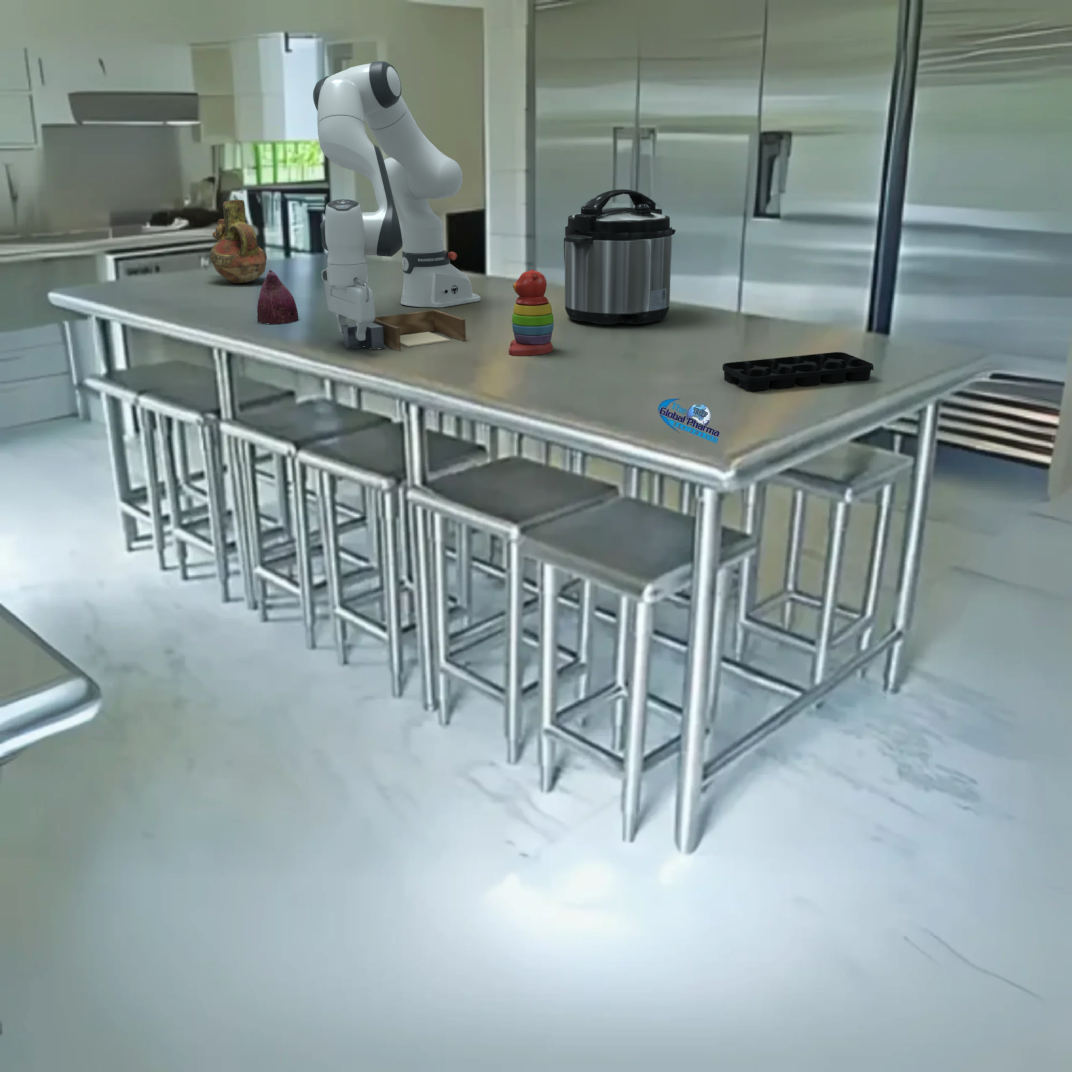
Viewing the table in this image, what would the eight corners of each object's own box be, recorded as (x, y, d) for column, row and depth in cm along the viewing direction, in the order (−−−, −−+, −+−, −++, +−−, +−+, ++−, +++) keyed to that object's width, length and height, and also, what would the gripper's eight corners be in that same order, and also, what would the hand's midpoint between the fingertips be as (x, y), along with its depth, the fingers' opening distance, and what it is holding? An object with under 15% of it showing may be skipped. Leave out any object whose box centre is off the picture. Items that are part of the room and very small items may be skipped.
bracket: (371, 343, 252) (370, 321, 250) (384, 348, 246) (382, 326, 245) (344, 346, 249) (342, 325, 247) (356, 352, 243) (354, 330, 241)
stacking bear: (510, 345, 248) (508, 267, 241) (554, 345, 248) (553, 266, 241) (507, 356, 238) (506, 274, 231) (553, 355, 238) (553, 274, 231)
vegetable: (289, 337, 275) (284, 282, 266) (251, 330, 276) (245, 276, 267) (305, 319, 283) (301, 265, 274) (268, 313, 285) (263, 259, 275)
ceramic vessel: (244, 274, 352) (235, 194, 342) (285, 283, 334) (277, 199, 325) (195, 280, 341) (185, 198, 332) (235, 290, 324) (225, 203, 314)
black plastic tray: (882, 380, 216) (884, 362, 215) (770, 402, 202) (771, 382, 200) (819, 363, 230) (821, 346, 229) (710, 382, 216) (711, 364, 214)
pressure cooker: (657, 305, 292) (661, 183, 280) (688, 326, 266) (694, 192, 254) (549, 310, 288) (548, 186, 276) (570, 331, 262) (570, 195, 250)
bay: (436, 329, 265) (435, 309, 263) (466, 340, 253) (465, 319, 251) (369, 338, 256) (368, 317, 254) (396, 350, 244) (395, 328, 243)
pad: (428, 333, 261) (428, 331, 261) (449, 341, 253) (449, 339, 253) (387, 338, 256) (387, 337, 256) (407, 347, 247) (407, 345, 247)
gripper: (380, 280, 235) (384, 342, 241) (343, 269, 252) (348, 327, 257) (353, 282, 232) (358, 346, 238) (318, 271, 248) (323, 330, 254)
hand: (352, 336), depth 247 cm, fingers open, 8 cm apart
